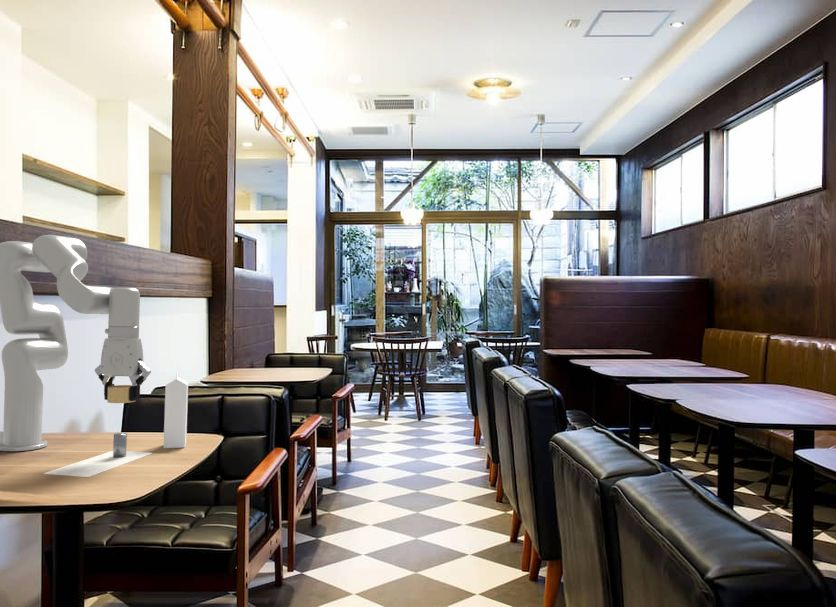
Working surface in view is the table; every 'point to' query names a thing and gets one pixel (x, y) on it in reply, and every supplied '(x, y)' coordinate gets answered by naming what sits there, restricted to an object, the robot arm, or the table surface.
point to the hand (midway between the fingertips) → (121, 399)
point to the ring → (119, 394)
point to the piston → (119, 445)
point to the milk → (175, 413)
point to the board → (96, 464)
